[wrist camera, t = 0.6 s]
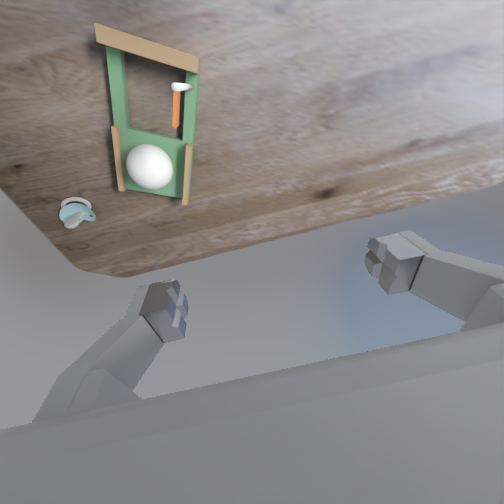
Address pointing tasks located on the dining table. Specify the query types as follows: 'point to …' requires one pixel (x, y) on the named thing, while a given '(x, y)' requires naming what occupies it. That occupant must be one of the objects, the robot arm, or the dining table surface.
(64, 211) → the pacifier
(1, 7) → the dining table surface
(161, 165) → the ball
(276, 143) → the dining table surface
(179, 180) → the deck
